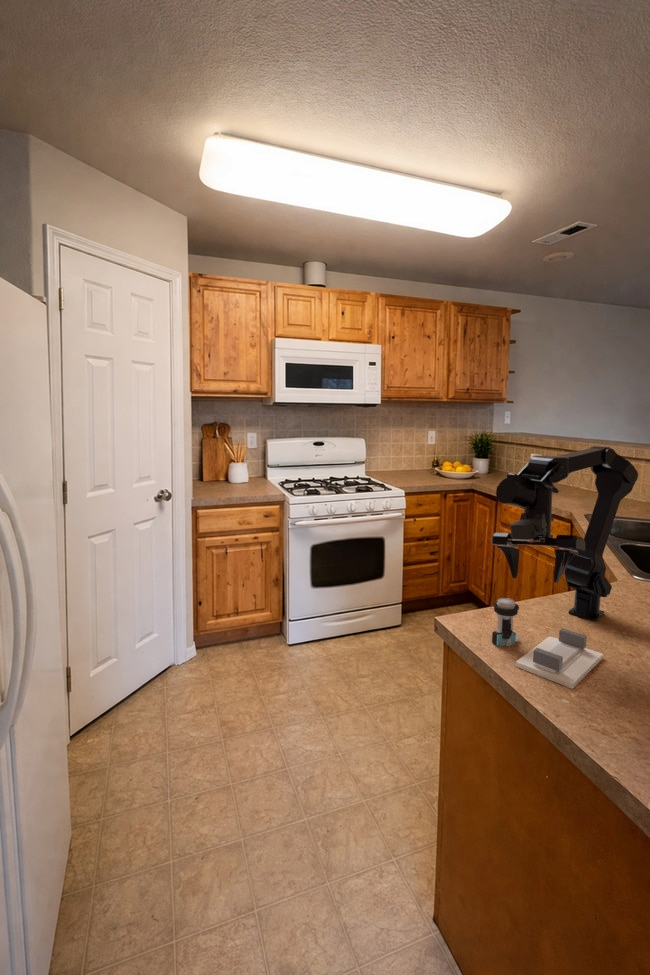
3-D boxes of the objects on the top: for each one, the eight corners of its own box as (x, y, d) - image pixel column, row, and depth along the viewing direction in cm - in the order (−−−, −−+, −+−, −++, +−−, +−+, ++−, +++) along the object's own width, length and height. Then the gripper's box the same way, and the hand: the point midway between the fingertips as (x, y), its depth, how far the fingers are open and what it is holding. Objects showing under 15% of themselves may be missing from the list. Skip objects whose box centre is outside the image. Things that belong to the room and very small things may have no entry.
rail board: (549, 640, 108) (550, 622, 107) (602, 658, 100) (604, 639, 99) (515, 666, 97) (516, 646, 97) (572, 688, 89) (574, 667, 89)
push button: (510, 635, 110) (513, 594, 109) (527, 646, 105) (529, 603, 104) (486, 640, 108) (488, 598, 107) (502, 651, 103) (504, 607, 102)
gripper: (481, 505, 110) (477, 574, 107) (566, 504, 96) (563, 583, 93) (505, 512, 117) (501, 577, 115) (587, 512, 103) (585, 586, 101)
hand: (534, 580), depth 106 cm, fingers open, 9 cm apart
